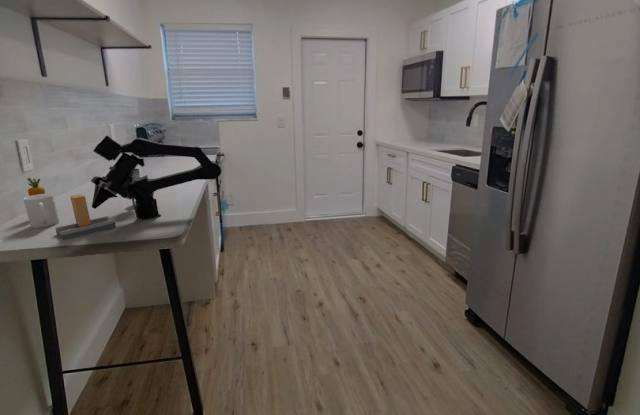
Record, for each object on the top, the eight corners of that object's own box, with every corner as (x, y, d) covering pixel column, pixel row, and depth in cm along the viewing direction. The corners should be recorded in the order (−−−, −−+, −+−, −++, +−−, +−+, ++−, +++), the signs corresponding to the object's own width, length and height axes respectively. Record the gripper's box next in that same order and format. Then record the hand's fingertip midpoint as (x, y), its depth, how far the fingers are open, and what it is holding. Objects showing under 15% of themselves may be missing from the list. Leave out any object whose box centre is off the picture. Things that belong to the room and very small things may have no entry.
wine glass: (118, 210, 145) (111, 172, 141) (134, 204, 152) (127, 168, 148) (135, 210, 142) (128, 172, 138) (149, 205, 150) (143, 168, 146)
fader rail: (107, 222, 129) (106, 215, 128) (116, 227, 123) (114, 219, 123) (56, 234, 118) (55, 226, 118) (63, 240, 113) (61, 232, 112)
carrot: (54, 214, 141) (44, 176, 137) (41, 218, 137) (31, 178, 133) (44, 214, 143) (34, 176, 139) (31, 218, 138) (20, 178, 134)
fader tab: (88, 223, 123) (81, 193, 120) (92, 226, 120) (86, 196, 117) (75, 226, 121) (68, 196, 118) (80, 229, 117) (73, 198, 114)
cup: (58, 219, 135) (52, 192, 133) (61, 226, 126) (54, 198, 124) (30, 224, 130) (22, 196, 128) (31, 232, 121) (23, 202, 119)
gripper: (153, 186, 126) (125, 225, 121) (132, 179, 138) (105, 215, 133) (124, 166, 118) (93, 207, 113) (105, 161, 130) (76, 198, 126)
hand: (93, 207), depth 122 cm, fingers closed
